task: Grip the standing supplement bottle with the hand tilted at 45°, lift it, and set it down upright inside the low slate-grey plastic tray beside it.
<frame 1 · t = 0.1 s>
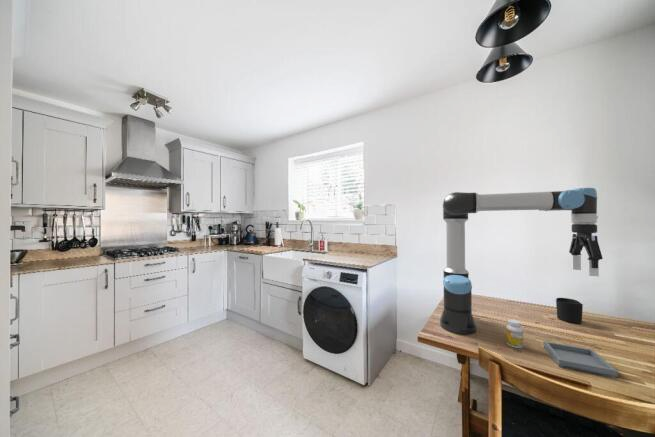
hand: (584, 272, 102), 28 cm above the table, tool pointing down, fingers open, 13 cm apart
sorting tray: (576, 361, 85), on the table
supplement bottle: (514, 345, 96), on the table
pen holder: (569, 320, 119), on the table
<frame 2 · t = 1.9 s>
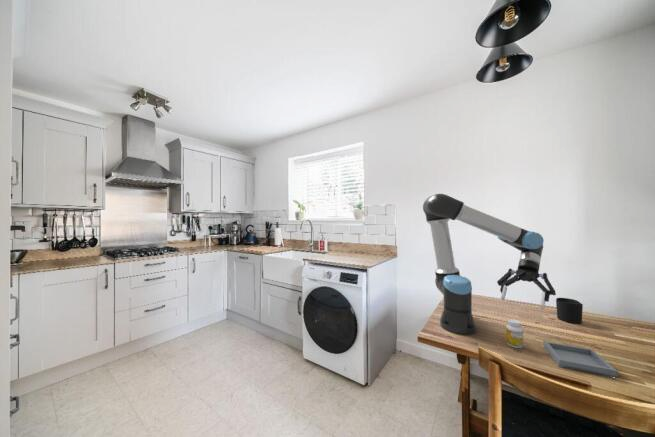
hand: (521, 302, 103), 15 cm above the table, tool tilted 45°, fingers open, 13 cm apart
nothing on the table moved.
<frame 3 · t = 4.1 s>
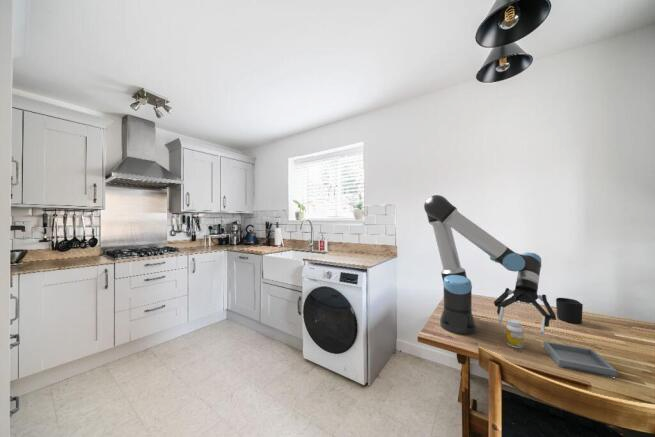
hand: (519, 327, 96), 7 cm above the table, tool tilted 45°, fingers open, 13 cm apart
nothing on the table moved.
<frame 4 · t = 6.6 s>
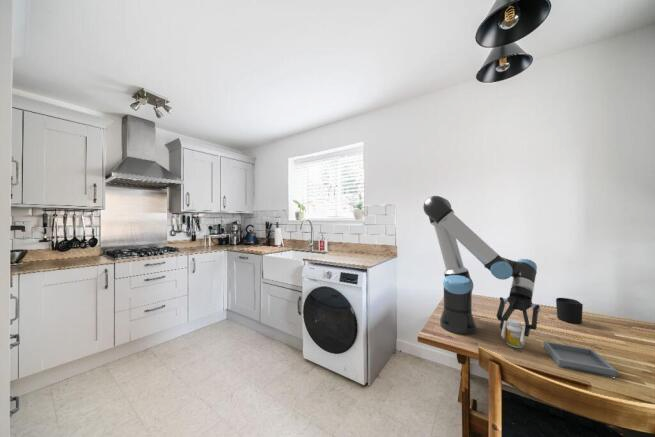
hand: (512, 339, 93), 3 cm above the table, tool tilted 45°, fingers closed on supplement bottle, 5 cm apart
supplement bottle: (514, 345, 96), on the table, touching gripper
everything else where it was.
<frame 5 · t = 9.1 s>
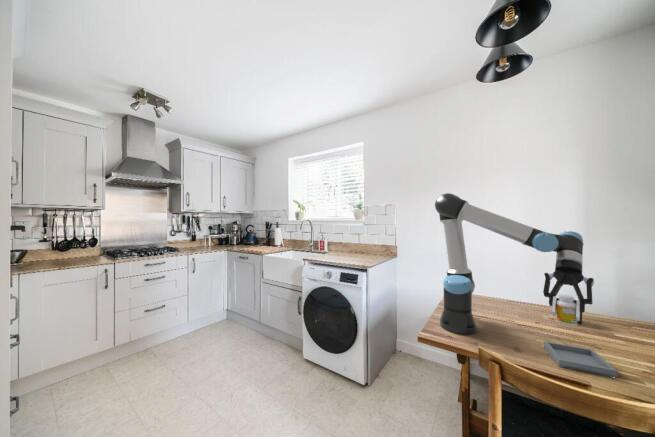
hand: (565, 316, 84), 16 cm above the table, tool tilted 45°, fingers closed on supplement bottle, 5 cm apart
supplement bottle: (566, 323, 86), point 13 cm above the table, touching gripper
everything else where it was.
when the fingers open (6 cm above the table, at t = 11.9 s): supplement bottle drops 1 cm, resting on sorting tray.
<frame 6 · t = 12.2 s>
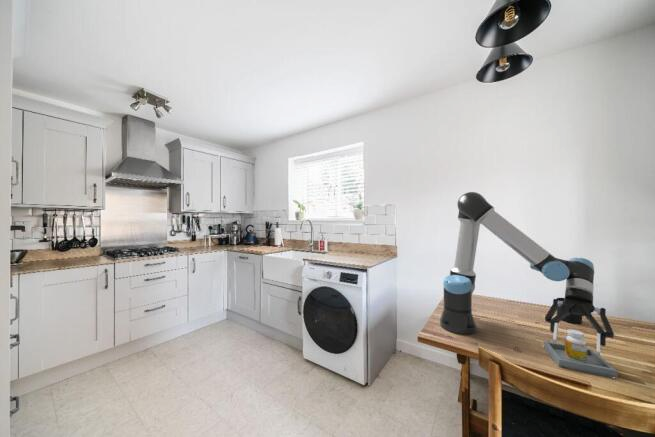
hand: (575, 346, 83), 6 cm above the table, tool tilted 45°, fingers open, 10 cm apart
supplement bottle: (575, 359, 85), point 1 cm above the table, touching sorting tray
everything else where it was.
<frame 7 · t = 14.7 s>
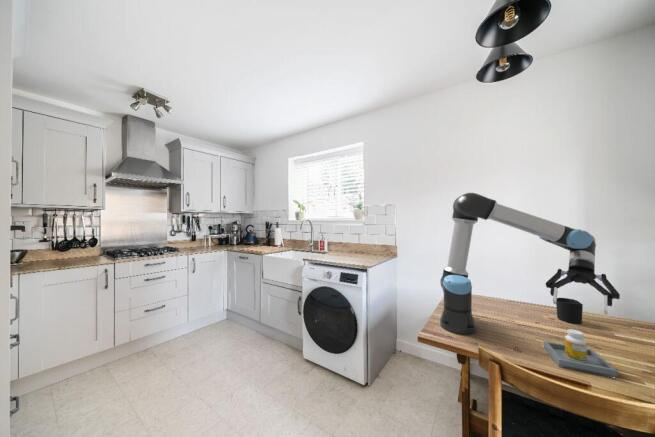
hand: (578, 307, 91), 17 cm above the table, tool tilted 45°, fingers open, 13 cm apart
nothing on the table moved.
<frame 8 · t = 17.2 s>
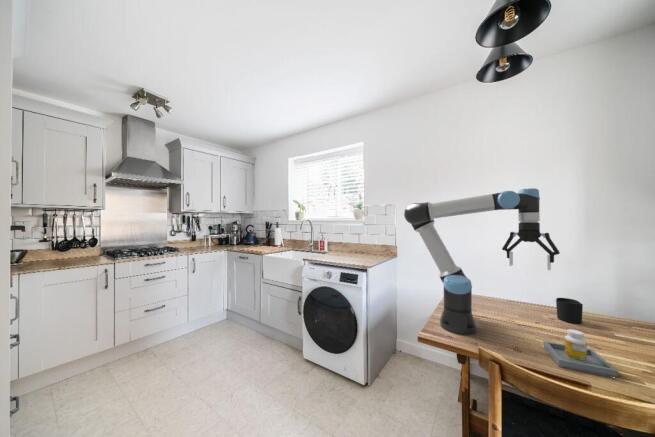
hand: (529, 267, 109), 29 cm above the table, tool pointing down, fingers open, 13 cm apart
nothing on the table moved.
at the end: supplement bottle inside the target area on the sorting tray (0.2 cm from its centre), point 0.6 cm above the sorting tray's base; supplement bottle tilted 0°; the gripper is holding nothing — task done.
